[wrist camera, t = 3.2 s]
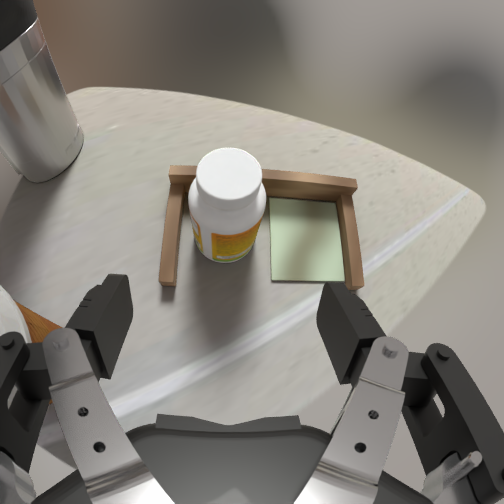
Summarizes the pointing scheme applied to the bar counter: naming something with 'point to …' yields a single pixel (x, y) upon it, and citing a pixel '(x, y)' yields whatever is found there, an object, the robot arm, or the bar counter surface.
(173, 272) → the bay
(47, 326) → the disposable coffee cup
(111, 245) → the bar counter surface
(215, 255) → the supplement bottle
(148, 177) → the bar counter surface
